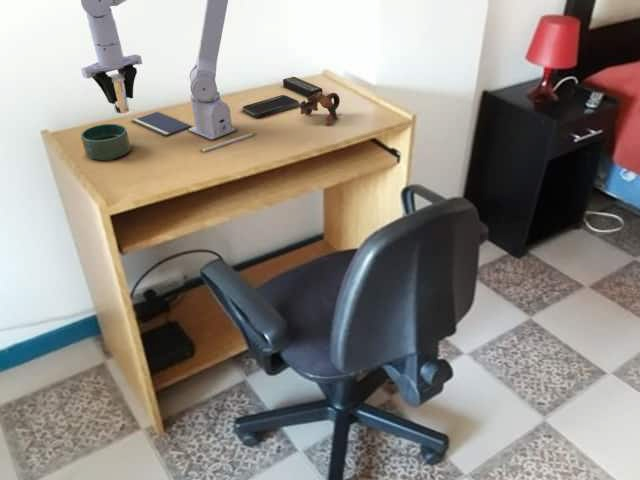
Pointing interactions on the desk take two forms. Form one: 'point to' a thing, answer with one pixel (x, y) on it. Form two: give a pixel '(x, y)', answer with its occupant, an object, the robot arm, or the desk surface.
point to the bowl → (106, 141)
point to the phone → (270, 106)
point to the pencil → (226, 142)
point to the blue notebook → (161, 124)
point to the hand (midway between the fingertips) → (121, 100)
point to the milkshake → (119, 93)
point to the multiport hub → (301, 86)
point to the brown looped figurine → (325, 102)
